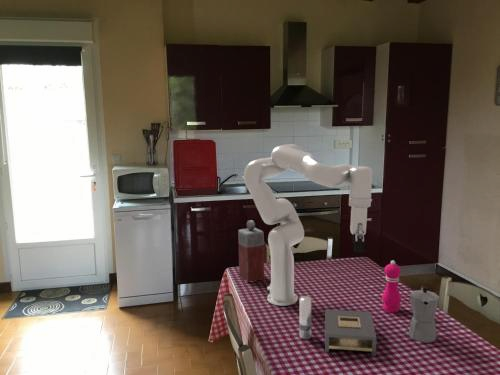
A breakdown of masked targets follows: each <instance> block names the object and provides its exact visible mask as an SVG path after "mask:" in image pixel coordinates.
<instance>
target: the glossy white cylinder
mask: <svg viewBox="0 0 500 375" xmlns="http://www.w3.org/2000/svg"><path fill="white" fill-rule="evenodd" d="M298 309H299V321H298V327H299V328H298V330H299V334H298V335H299V338H300V339H302V340H309V339H311V338H312V298H311V297H310V296H306V295H303V296H300V297H299V308H298Z"/></svg>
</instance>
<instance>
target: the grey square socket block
mask: <svg viewBox="0 0 500 375" xmlns="http://www.w3.org/2000/svg"><path fill="white" fill-rule="evenodd" d="M324 315H325V316H324V323H325V324H324V353H325V354H326V353H327V354H328V353H330V349H331V350H345V351H347V350H348V351H358V352H359V351H361V352H370V353H371V356H372V357H377V334H376V330H375V326H374V320H373V317H372V316H373V315H372V312H371V311H361V310H360V311H359V310H342V309H341V310H340V309H326V308H325V310H324Z"/></svg>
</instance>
